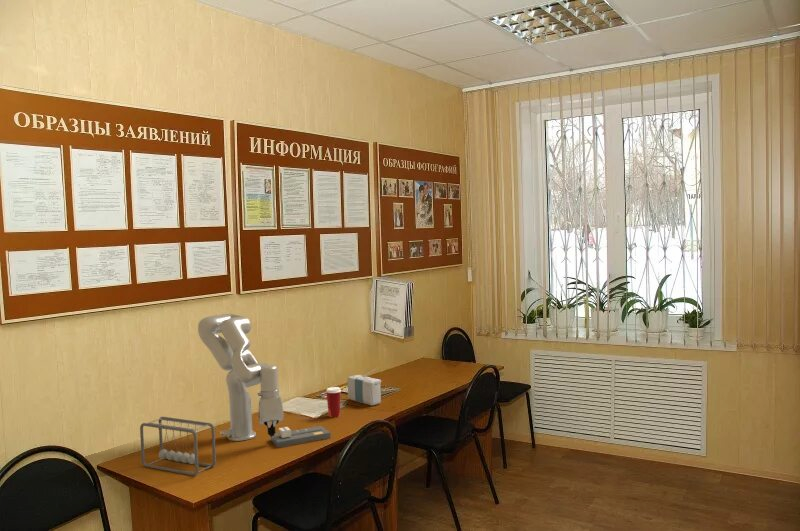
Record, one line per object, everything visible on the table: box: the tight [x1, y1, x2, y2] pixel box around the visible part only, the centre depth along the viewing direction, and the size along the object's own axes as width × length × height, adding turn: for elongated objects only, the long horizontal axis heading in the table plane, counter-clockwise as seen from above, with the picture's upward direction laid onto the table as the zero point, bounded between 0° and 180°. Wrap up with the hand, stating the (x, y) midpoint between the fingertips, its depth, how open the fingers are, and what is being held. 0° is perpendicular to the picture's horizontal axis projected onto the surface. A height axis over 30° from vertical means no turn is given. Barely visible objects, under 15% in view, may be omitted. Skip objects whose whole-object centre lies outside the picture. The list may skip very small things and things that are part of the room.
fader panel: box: [269, 425, 331, 449], centre depth 273 cm, size 24×12×3 cm, turn 117°
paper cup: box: [325, 386, 342, 418], centre depth 308 cm, size 8×8×14 cm
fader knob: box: [278, 426, 292, 438], centre depth 270 cm, size 4×5×3 cm
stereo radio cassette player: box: [347, 366, 382, 407], centre depth 333 cm, size 21×8×20 cm, turn 42°
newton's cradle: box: [139, 416, 217, 477], centre depth 244 cm, size 30×10×18 cm, turn 64°
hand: (271, 435), depth 267 cm, fingers closed
